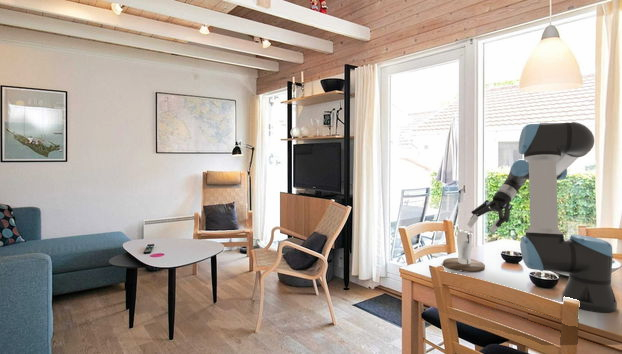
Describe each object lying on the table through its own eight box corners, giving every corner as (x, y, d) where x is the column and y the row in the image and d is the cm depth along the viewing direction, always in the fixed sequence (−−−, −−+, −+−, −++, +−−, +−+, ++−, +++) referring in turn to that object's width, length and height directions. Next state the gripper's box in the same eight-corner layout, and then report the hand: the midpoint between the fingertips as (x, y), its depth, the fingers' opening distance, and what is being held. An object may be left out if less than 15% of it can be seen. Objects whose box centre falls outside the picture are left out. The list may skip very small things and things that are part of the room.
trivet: (492, 271, 162) (492, 269, 162) (452, 272, 162) (452, 269, 162) (474, 260, 180) (474, 257, 180) (437, 260, 180) (437, 257, 180)
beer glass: (474, 265, 167) (474, 233, 166) (458, 265, 168) (458, 233, 167) (470, 261, 173) (471, 230, 172) (455, 260, 175) (455, 229, 174)
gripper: (531, 204, 167) (506, 239, 163) (487, 198, 190) (464, 228, 186) (523, 193, 165) (497, 228, 161) (480, 188, 188) (456, 219, 184)
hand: (479, 228), depth 173 cm, fingers open, 13 cm apart
